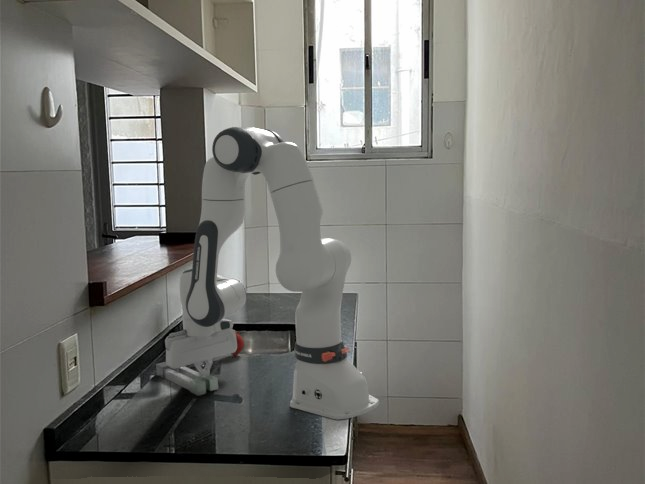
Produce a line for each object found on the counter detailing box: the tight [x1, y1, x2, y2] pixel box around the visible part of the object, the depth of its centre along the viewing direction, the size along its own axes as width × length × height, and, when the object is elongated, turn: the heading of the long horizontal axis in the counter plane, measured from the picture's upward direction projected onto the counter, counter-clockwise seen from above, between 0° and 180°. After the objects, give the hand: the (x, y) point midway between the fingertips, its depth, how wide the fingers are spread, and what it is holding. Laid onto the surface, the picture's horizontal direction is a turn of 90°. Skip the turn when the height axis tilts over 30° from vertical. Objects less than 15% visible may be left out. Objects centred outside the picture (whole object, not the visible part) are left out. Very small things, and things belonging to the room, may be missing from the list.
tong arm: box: [179, 366, 219, 392], centre depth 176 cm, size 21×2×4 cm, turn 40°
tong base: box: [155, 361, 207, 397], centre depth 176 cm, size 24×6×3 cm, turn 40°
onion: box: [230, 329, 245, 357], centre depth 198 cm, size 6×6×8 cm
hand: (204, 376), depth 176 cm, fingers closed
